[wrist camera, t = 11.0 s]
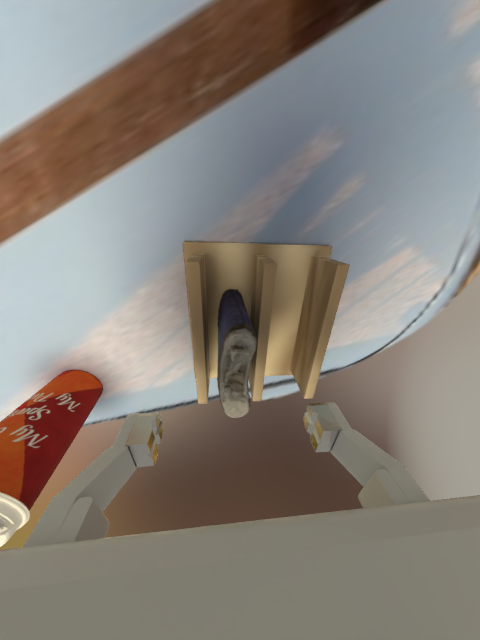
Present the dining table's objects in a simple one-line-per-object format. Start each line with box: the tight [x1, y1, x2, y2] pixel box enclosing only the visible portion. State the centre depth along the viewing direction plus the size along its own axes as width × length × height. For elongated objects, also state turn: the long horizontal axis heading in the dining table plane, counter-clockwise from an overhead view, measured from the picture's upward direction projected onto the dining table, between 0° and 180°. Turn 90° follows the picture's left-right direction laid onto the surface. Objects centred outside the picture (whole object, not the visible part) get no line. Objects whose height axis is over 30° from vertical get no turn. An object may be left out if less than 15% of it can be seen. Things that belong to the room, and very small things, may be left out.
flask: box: [217, 289, 257, 418], centre depth 18 cm, size 9×3×11 cm, turn 177°
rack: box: [183, 241, 349, 404], centre depth 21 cm, size 15×17×6 cm
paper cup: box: [0, 370, 103, 546], centre depth 19 cm, size 8×8×14 cm
